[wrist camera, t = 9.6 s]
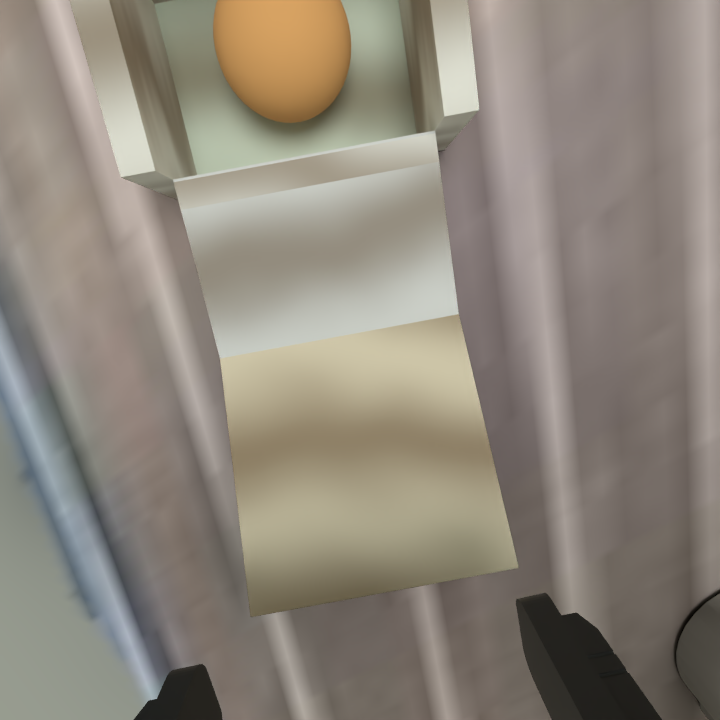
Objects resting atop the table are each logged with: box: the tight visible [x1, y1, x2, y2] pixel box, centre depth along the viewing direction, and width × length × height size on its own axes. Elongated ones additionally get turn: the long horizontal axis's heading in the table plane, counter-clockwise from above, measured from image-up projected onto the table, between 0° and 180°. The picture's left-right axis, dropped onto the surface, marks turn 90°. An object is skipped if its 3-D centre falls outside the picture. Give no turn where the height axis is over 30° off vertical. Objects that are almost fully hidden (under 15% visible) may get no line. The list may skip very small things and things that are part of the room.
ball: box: [213, 0, 351, 123], centre depth 16 cm, size 5×5×5 cm
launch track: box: [70, 0, 519, 617], centre depth 16 cm, size 26×12×8 cm, turn 10°
